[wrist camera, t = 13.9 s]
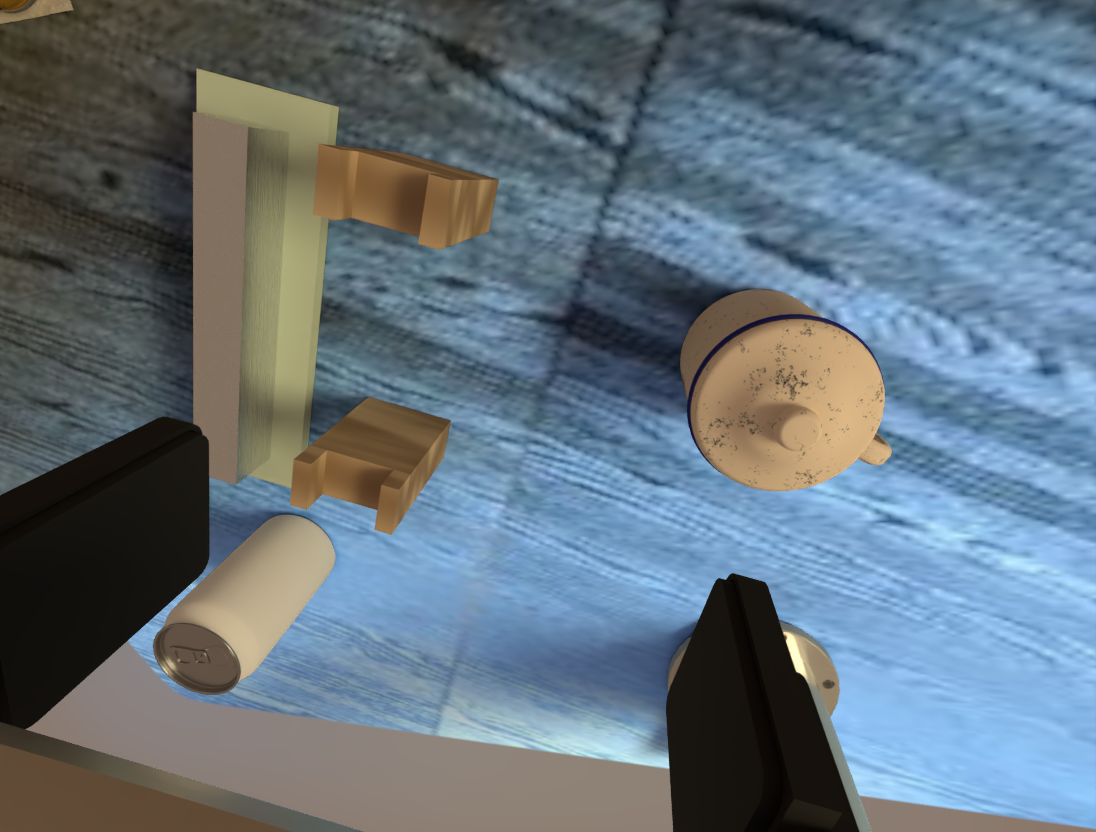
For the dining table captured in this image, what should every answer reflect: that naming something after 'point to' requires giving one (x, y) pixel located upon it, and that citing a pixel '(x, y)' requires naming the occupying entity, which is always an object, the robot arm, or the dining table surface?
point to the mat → (287, 251)
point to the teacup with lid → (780, 392)
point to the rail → (236, 287)
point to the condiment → (30, 9)
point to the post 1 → (403, 194)
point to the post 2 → (372, 460)
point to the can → (244, 605)
